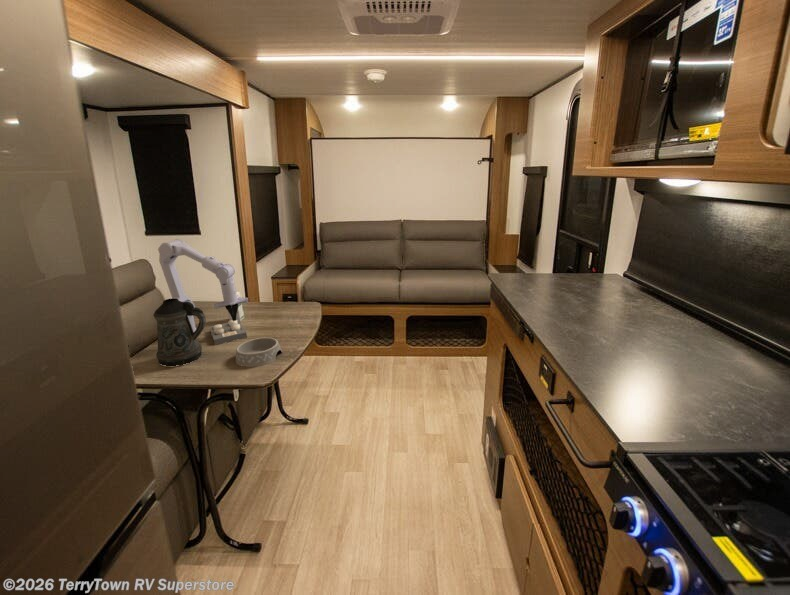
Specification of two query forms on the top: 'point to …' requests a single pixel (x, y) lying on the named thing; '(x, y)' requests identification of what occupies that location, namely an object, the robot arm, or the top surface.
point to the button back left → (217, 326)
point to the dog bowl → (257, 352)
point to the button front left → (219, 330)
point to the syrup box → (240, 310)
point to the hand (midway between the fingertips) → (234, 320)
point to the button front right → (235, 327)
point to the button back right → (232, 322)
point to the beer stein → (178, 332)
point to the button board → (228, 334)
